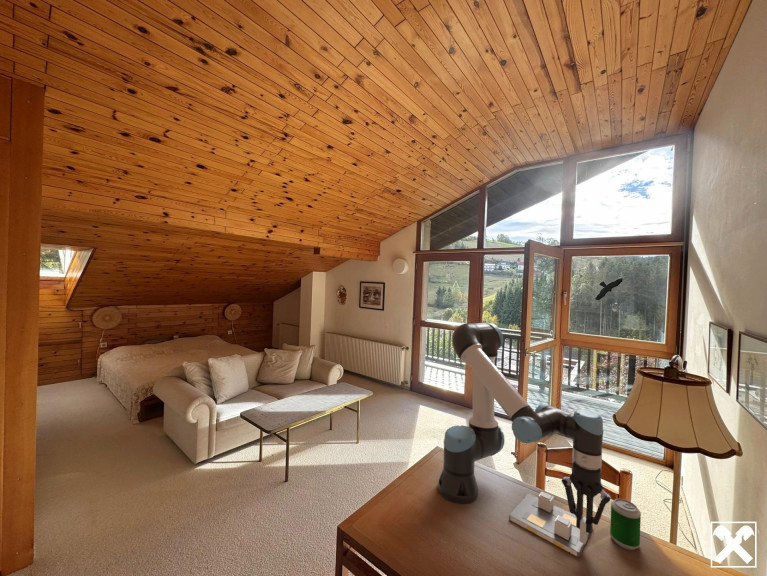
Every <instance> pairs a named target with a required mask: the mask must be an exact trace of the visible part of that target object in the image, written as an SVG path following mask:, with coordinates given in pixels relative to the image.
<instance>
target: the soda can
mask: <svg viewBox="0 0 767 576" xmlns="http://www.w3.org/2000/svg"><path fill="white" fill-rule="evenodd" d="M641 513H642V512H641V511H640V509H639V508H638V506H637V505H636V504H635V503H633V502H631V501H630V500H627V499H624V498H616V499H613V500H612V501H611V502H610V523H609V524H610V526H609V527H610V528H609V530H610V532H609V534H610V537H611V538H612V540H613V541H614V542H615V544H617V545H618V546H620V547H621V548H623V549H625V550H628V551H629V550H630V551H634V550H636V549H639V548H640V543H641V520H642V519H641V518H642V517H641V516H642V515H641Z"/></svg>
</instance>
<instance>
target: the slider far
mask: <svg viewBox="0 0 767 576" xmlns="http://www.w3.org/2000/svg"><path fill="white" fill-rule="evenodd" d="M537 496H538V497H537V498H538V507H539V508H541V509H543V510H545V511H547V512H551V511H552V509H553V507H554V504H555V502H554V501H555V500H554V499H555V496H553V495H551V494H549V493H546V492H544V491H541V492H539V495H537Z"/></svg>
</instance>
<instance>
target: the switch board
mask: <svg viewBox="0 0 767 576" xmlns="http://www.w3.org/2000/svg"><path fill="white" fill-rule="evenodd" d="M558 515H559V516H561V517H563V518H566V519H568V520H570V521H571V522H572V534H571V536H570V538H569V540H567V539H565V538H563V537H561V536H559V535H557V534H555V533H554V525H555V519H556V518H557V516H558ZM576 519H577V518H576V516H575V515H574V514H572V513H570V511H567V510H565V509H563V508H561V507H559V506H557V505H554V507H553V509H552V511H551V512H547V511H545V510H543V509H541V508H539V507H538V497H537V496H536V495H533V494H531V493H529V492H528V493H527V494H526V495H525V496H524V497H523V499H522V500H521V501H520V502H519V503H518V505H516V506H515V508H514V509H513V510H512V511H511V513H510V514H509V516H508V520H510V521H511V522H512V523H515V524H516V525H519V526H520V527H522V528H524V529H525V530H527V531H529V532H531V533H532V534H534V535H536V536H538V537H541V538H542V539H544V540H546V541H547V542H549V543H551V544H552V545H554V546H557V547H559V548H560V549H563V550H564V551H566V552H568V553H569V552H570V553H569V554H572V555H573V556H576V557H577V558H580V556H581V554H582V552H583V550H584V548H585V546H586V544H587V541H588V539H589V538H590V535H591V533H590V534H589V533H588V535H587V541H586V543H585V544H583V543H581V542H580V541H579V540H580V529H579V528H577V527H576ZM593 528H594V524H593V523H592V530H593Z"/></svg>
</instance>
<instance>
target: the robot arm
mask: <svg viewBox="0 0 767 576" xmlns="http://www.w3.org/2000/svg"><path fill="white" fill-rule="evenodd" d="M451 343H452V347H453V350H454V352H455V355H456V356H457V357H458V358H459V360H460V361H461V362H462V363H466V364H467V366H468V367H469V368H470V369H471V371H472V373H471V375H472V378H471V380H472V381H471V382H472V387H471V388H472V393H471V394H472V416H471V417H470V418H469V419H468V426H466V425H462V424H461V425H457V424H456V425H452V426H451V427H449V428H447V429H446V430H445V433H444V439H443V465H442V466H443V467H442V471H441V473H440V476H439V478H438V481H437V482H438V483H437V489H438V492H439V494H440V495H441V496H442V497H444V499H446V500H448V501H450V502H453V503H456V504H457V503H458V504H470V503H473V502H475V501H476V500H477V498H478V495H479V487H478V482H477V479H476V476H475V462H478V461H480V460H482V459H485V458H488V457H492V456H495V455H496V454H498V453H499V452H501V451H502V450H503V448H504V446H505V434H504V432H503V431H502V427H500V425H499V422H498V421H497V420H496V419H495V401H496V403H497V404H498V405H499V406H500V408H501V409H502V410H503V411H504V413H505V414H506V415H507V417H508V418H509V419H510V420H511V431H512V433H513V436H514V437H515V439H517V441H519V442H521V443H522V444H531V443H537V442H540V441H541V440H543V439H545V438H548V437H552V436H554V435H556V434H559V435H561V436H564V437H565V438H569V439H571V440H572V454H571V455H572V457H571V458H572V461H571V474H570V476H566V475H565V476H563V477H562V479H561V483H562V485H563V486H564V490H565V495H566V499H567V500H566V501H567V504H568V508H569V512H570V513H572V514H574V515H575V516H576V518H577V519H576V527H577V528H579V529H580V540H579V541H580V542H581V543H583V544H585V543H586V544H587V542H586V541H588V539H587V535H588V533H589V534H590V535H591V533H592V530H593V529H592V523H593V525H596V526H597V525H598V524H599V522H600V521H601V517H602V515H603V512H604V509H605V507H606V505H607V504H608V503H609V502H610V501H611V499H612V495H611V494H610V493H607V492H606V490H604V488H603V485H602V465H603V464H602V463H603V440H604V439H603V438H604V420H603V418H602V415H600V414H599V413H597V412H594V411H592V410H587V409H577V410H575V411H574V413H572V412H569V411H567V410H563V409H561V408H558V407H556V406H554V405H549V404H546V403H540V404H538V406H536V408H535V410H534V409H533V408H532V407H531V406H530V405H529V403H527V401H526V400H525V399H524V398H523V396H522V395H521V394H520V392H519V391H517V389H516V388H515V387H514V386H513V385H512V383H511V382H510V381H509V380H508V379H507V378H506V376H505V375H504V374H503V373H502V372H501V371H500V369H499V368H498V367H497V365H496V364H495V362H494V361H495V359H496V358H497V357H498V353H499V352H498V350H499V349H501V347H502V346H503V344H504V335H503V332H502V331H501V329H500V328H499V327H498V325H496V324H495V323H491V322H475V323H473V322H472V323H462V324H460V325H459V326H457V327H456V328H455V329H454V331H453V334H452V337H451ZM572 485H573V487H574V488H575V490H576V501H575V497H574V496H575V495H574V492H573V488H572ZM599 494H600V495H599ZM597 495H599V496H600V499H601V500H600V502H599V504H598V508H597V510H596V512H595V515H594V498H595V497H596V496H597ZM584 497H586V498H585V499H586V508H585V509H586V510H585V511H586V512H585V515H586V516H584ZM586 544H585V545H586Z"/></svg>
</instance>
